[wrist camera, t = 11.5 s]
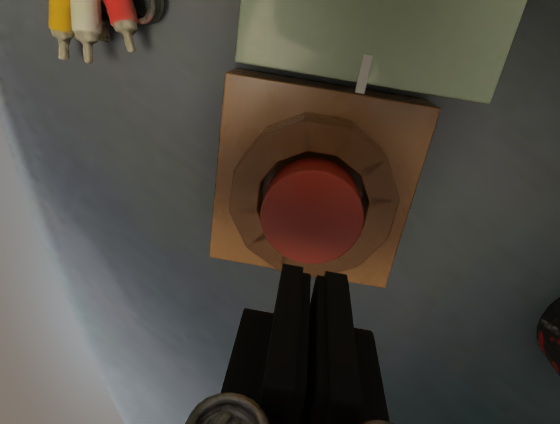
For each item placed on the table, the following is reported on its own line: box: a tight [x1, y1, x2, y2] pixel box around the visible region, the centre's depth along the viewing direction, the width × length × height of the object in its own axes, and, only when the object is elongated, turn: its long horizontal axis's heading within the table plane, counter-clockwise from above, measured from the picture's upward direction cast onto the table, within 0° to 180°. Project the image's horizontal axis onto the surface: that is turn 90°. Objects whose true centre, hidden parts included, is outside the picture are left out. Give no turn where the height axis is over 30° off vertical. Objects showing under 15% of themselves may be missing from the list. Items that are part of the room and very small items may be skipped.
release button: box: [260, 158, 364, 264], centre depth 16 cm, size 4×4×2 cm
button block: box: [209, 68, 441, 288], centre depth 18 cm, size 9×9×4 cm
